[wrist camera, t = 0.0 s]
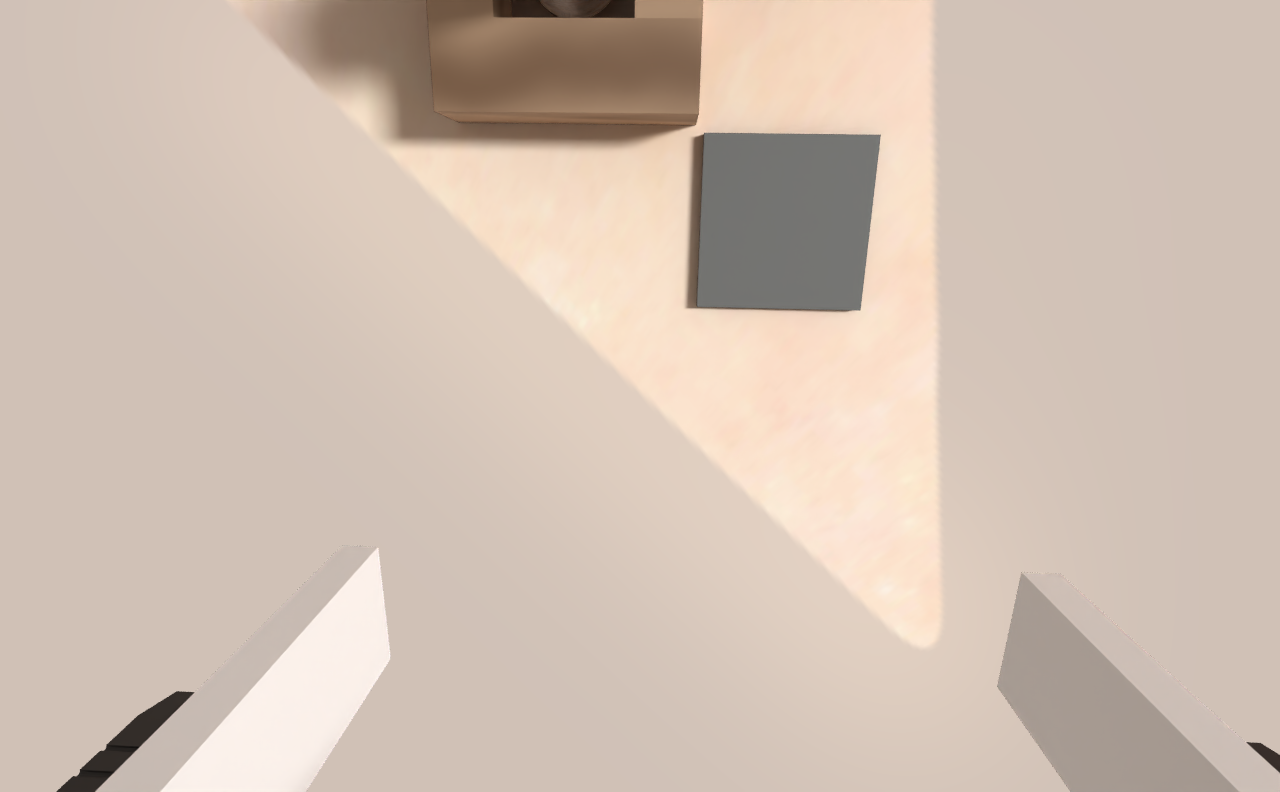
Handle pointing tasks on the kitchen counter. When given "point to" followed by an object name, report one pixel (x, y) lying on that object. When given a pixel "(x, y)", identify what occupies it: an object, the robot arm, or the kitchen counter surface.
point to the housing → (566, 64)
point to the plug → (575, 7)
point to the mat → (785, 220)
